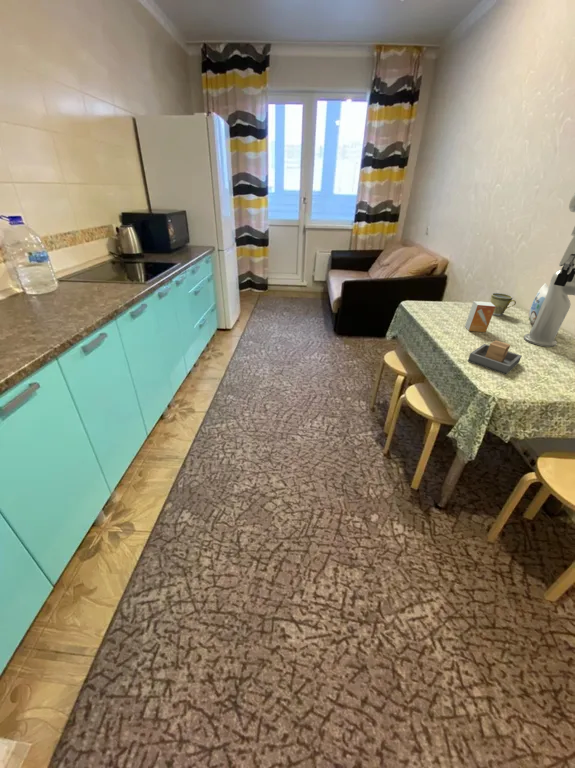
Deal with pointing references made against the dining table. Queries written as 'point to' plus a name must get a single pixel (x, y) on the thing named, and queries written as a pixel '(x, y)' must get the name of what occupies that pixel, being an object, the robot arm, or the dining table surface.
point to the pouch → (538, 303)
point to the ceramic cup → (501, 302)
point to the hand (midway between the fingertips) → (562, 283)
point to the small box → (479, 316)
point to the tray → (503, 367)
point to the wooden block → (497, 351)
